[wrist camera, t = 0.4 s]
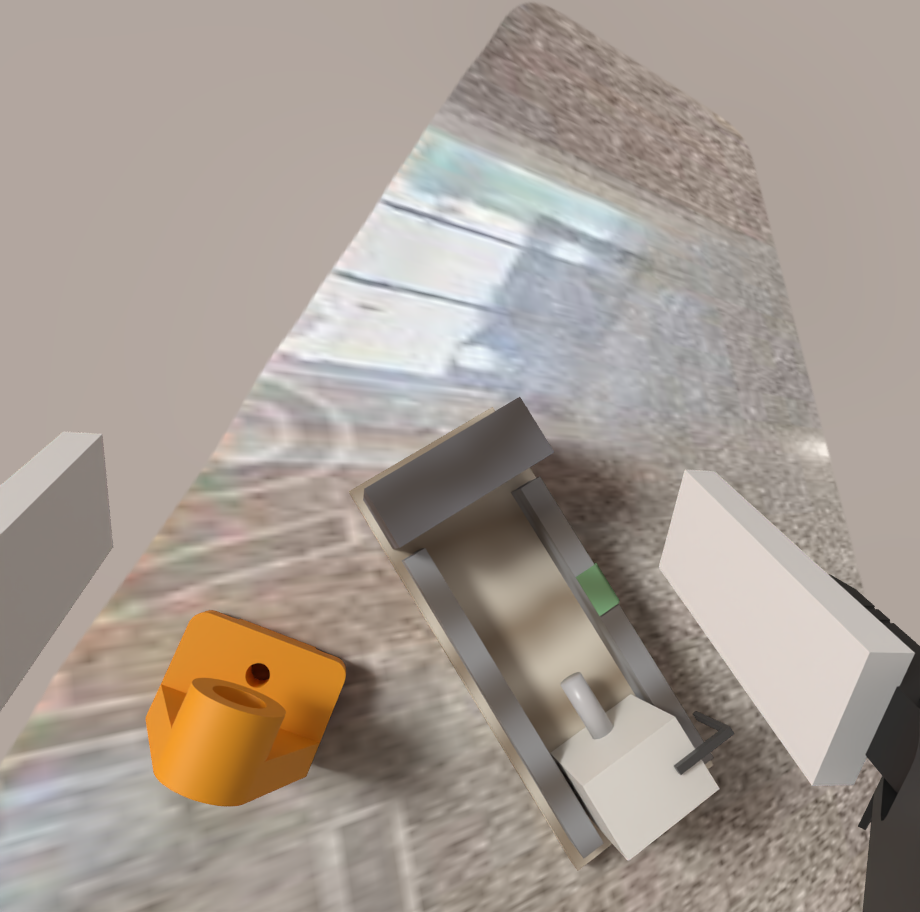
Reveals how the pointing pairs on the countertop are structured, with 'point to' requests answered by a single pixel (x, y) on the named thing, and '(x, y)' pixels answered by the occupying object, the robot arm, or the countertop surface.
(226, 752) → the bracket
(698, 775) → the gauge carriage
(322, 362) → the countertop surface
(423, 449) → the base
